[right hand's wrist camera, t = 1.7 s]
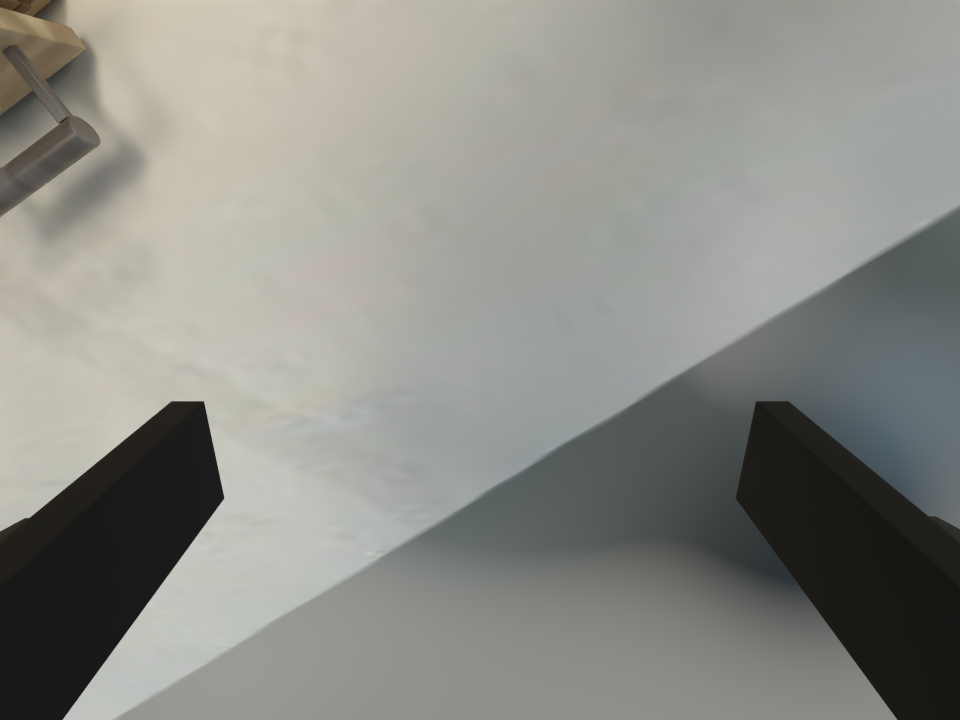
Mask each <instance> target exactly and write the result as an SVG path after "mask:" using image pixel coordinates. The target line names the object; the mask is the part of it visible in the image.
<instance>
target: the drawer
mask: <svg viewBox="0 0 960 720" xmlns="http://www.w3.org/2000/svg"><path fill="white" fill-rule="evenodd" d="M31 8H32V6H31V5H30V3H29V2H28V1H27V0H0V116H1V115H2V114H3V113H4V112H6V111H7V110H8V109H10V108H11V107H12V106H13V105H15V104H16V103H17V102H19V101H20V100H21V99H22V98H24V97H25V96H26V95H28V94H29V93H30V92H31V91H33V92H34V93H35V94H36V95H37V97H38V98H39V99H40V101H41V102H42V103H43V104H44V106H45V107H46V108H47V109H48V111H49V112H50V113H51V114H52V116H53V117H54V118H55V119H56V121H57V122H58V123H61V124H59V125H58V126H57V127H55V128H54V129H53V130H51V131H50V132H49V133H47V134H46V135H45V136H43V137H42V138H41V139H39V140H38V141H37V142H35V143H34V144H33V145H31V146H30V147H29V148H27V149H26V150H25V151H23V152H22V153H21V154H19V155H18V156H17V157H15V158H14V159H13V160H11V161H10V162H9V163H8V164H6V165H5V166H4V167H2V168H1V169H0V217H1V216H3V215H4V214H5V213H7V212H8V211H9V210H11V209H12V208H13V207H15V206H16V205H18V204H19V203H20V202H22V201H23V200H24V199H26V198H27V197H29V196H30V195H31V194H33V193H34V192H35V191H37V190H38V189H40V188H41V187H42V186H44V185H45V184H46V183H48V182H49V181H51V180H52V179H53V178H55V177H56V176H57V175H59V174H60V173H61V172H63V171H64V170H66V169H67V168H68V167H70V166H71V165H72V164H74V163H75V162H77V161H78V160H79V159H81V158H82V157H83V156H85V155H86V154H88V153H89V152H90V151H92V150H93V149H94V148H96V147H97V146H98V145H99V144H100V138H99V136H98V134H97V133H96V131H95V130H94V129H93V128H92V127H91V126H90V125H89V124H88V123H87V122H85V121H84V120H82V119H81V118H79V117H76V116H72V114H71V113H70V112H69V110H68V109H67V108H66V107H65V105H64V104H63V103H62V101H61V100H60V99H59V98H58V96H57V95H56V94H55V92H54V91H53V90H52V89H51V87H50V86H49V85H48V83H47V82H46V81H45V80H47V79H48V78H49V77H51V76H52V75H53V74H54V73H56V72H57V71H58V70H60V69H61V68H62V67H63V66H65V65H66V64H67V63H69V62H70V61H71V60H72V59H74V58H75V57H76V56H78V55H79V54H80V53H81V52H83V51H84V50H85V49H86V48H85V46H84V45H83V44H82V42H81V41H80V39H79V38H78V37H77V35H76V34H75V33H74V31H73V30H72V29H71V28H70V27H67V26H63V25H60V24H56V23H53V22H49V21H46V20H42V19H39V18H36V17H32V16H29V15H25V13H26V12H27V11H28V10H30V9H31Z"/></svg>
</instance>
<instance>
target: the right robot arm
mask: <svg viewBox="0 0 960 720" xmlns="http://www.w3.org/2000/svg"><path fill="white" fill-rule="evenodd" d="M223 499H224V495H223V490H222V485H221V480H220V476H219V471H218V466H217V461H216V457H215V452H214V447H213V442H212V438H211V433H210V428H209V423H208V419H207V414H206V409H205V404H204V401H172V402H170V403H169V404H168V405H167V406H165V407H164V408H163V409H162V410H161V411H159V412H158V413H157V414H156V415H155V416H153V417H152V418H151V419H150V420H148V421H147V422H146V423H145V424H144V425H142V426H141V427H140V428H139V429H137V430H136V431H135V432H134V433H133V434H131V435H130V436H129V437H128V438H127V439H125V440H124V441H123V442H122V443H120V444H119V445H118V446H117V447H116V448H114V449H113V450H112V451H111V452H109V453H108V454H107V455H106V456H105V457H103V458H102V459H101V460H100V461H99V462H97V463H96V464H95V465H94V466H92V467H91V468H90V469H89V470H88V471H86V472H85V473H84V474H83V475H81V476H80V477H79V478H78V479H77V480H75V481H74V482H73V483H72V484H71V485H69V486H68V487H67V488H66V489H64V490H63V491H62V492H61V493H60V494H58V495H57V496H56V497H55V498H53V499H52V500H51V501H50V502H49V503H47V504H46V505H45V506H44V507H43V508H41V509H40V510H39V511H38V512H36V513H35V514H34V515H33V516H32V517H30V518H25V519H23V520H21V521H19V522H17V523H15V524H13V525H12V526H10V527H8V528H6V529H4V530H2V531H0V720H63V718H64V717H65V716H66V714H67V713H68V712H69V710H70V709H71V707H72V706H73V705H74V703H75V702H76V701H77V699H78V698H79V696H80V695H81V694H82V692H83V691H84V690H85V688H86V687H87V686H88V684H89V683H90V681H91V680H92V679H93V677H94V676H95V675H96V673H97V672H98V670H99V669H100V668H101V666H102V665H103V664H104V662H105V661H106V659H107V658H108V657H109V655H110V654H111V653H112V651H113V650H114V649H115V647H116V646H117V644H118V643H119V642H120V640H121V639H122V638H123V636H124V635H125V633H126V632H127V631H128V629H129V628H130V627H131V625H132V624H133V623H134V621H135V620H136V618H137V617H138V616H139V614H140V613H141V612H142V610H143V609H144V607H145V606H146V605H147V603H148V602H149V601H150V599H151V598H152V597H153V595H154V594H155V592H156V591H157V590H158V588H159V587H160V586H161V584H162V583H163V581H164V580H165V579H166V577H167V576H168V575H169V573H170V572H171V571H172V569H173V568H174V566H175V565H176V564H177V562H178V561H179V560H180V558H181V557H182V555H183V554H184V553H185V551H186V550H187V549H188V547H189V546H190V545H191V543H192V542H193V540H194V539H195V538H196V536H197V535H198V534H199V532H200V531H201V529H202V528H203V527H204V525H205V524H206V523H207V521H208V520H209V519H210V517H211V516H212V514H213V513H214V512H215V510H216V509H217V508H218V506H219V505H220V503H221V502H222V501H223ZM736 499H737V501H738V502H739V503H740V505H741V506H742V507H743V509H744V510H745V512H746V513H747V514H748V516H749V517H750V519H751V520H752V521H753V523H754V524H755V525H756V527H757V528H758V529H759V531H760V532H761V533H762V535H763V536H764V538H765V539H766V540H767V542H768V543H769V544H770V546H771V547H772V549H773V550H774V551H775V553H776V554H777V555H778V557H779V558H780V560H781V561H782V562H783V564H784V565H785V566H786V568H787V569H788V571H789V572H790V573H791V575H792V576H793V577H794V579H795V580H796V581H797V583H798V584H799V586H800V587H801V588H802V590H803V591H804V592H805V594H806V595H807V597H808V598H809V599H810V601H811V602H812V603H813V605H814V606H815V607H816V609H817V610H818V611H819V613H820V614H821V616H822V617H823V618H824V620H825V621H826V623H827V624H828V625H829V627H830V628H831V629H832V631H833V632H834V633H835V635H836V636H837V638H838V639H839V640H840V642H841V643H842V644H843V646H844V647H845V648H846V650H847V651H848V653H849V654H850V655H851V657H852V658H853V659H854V661H855V662H856V663H857V665H858V666H859V668H860V669H861V670H862V672H863V673H864V674H865V676H866V677H867V679H868V680H869V681H870V683H871V684H872V686H873V687H874V688H875V690H876V691H877V692H878V694H879V695H880V696H881V698H882V699H883V701H884V702H885V703H886V705H887V706H888V707H889V709H890V710H891V711H892V713H893V714H894V715H895V717H896V718H897V720H960V529H958V528H956V527H954V526H953V525H951V524H949V523H947V522H945V521H943V520H941V519H939V518H938V517H936V516H927V515H926V514H925V513H924V512H922V511H921V510H920V509H919V508H917V507H916V506H915V505H914V504H913V503H911V502H910V501H909V500H908V499H906V498H905V497H904V496H903V495H902V494H900V493H899V492H898V491H897V490H896V489H894V488H893V487H892V486H891V485H889V484H888V483H887V482H886V481H885V480H883V479H882V478H881V477H880V476H878V475H877V474H876V473H875V472H874V471H872V470H871V469H870V468H869V467H868V466H866V465H865V464H864V463H863V462H861V461H860V460H859V459H858V458H857V457H855V456H854V455H853V454H852V453H850V452H849V451H848V450H847V449H846V448H844V447H843V446H842V445H841V444H840V443H838V442H837V441H836V440H835V439H833V438H832V437H831V436H830V435H829V434H827V433H826V432H825V431H824V430H823V429H821V428H820V427H819V426H818V425H816V424H815V423H814V422H813V421H812V420H810V419H809V418H808V417H807V416H805V415H804V414H803V413H802V412H801V411H799V410H798V409H797V408H796V407H795V406H793V405H792V404H791V403H790V402H788V401H757V402H756V404H755V409H754V414H753V419H752V424H751V429H750V433H749V438H748V443H747V447H746V452H745V457H744V461H743V466H742V471H741V476H740V480H739V485H738V490H737V495H736Z"/></svg>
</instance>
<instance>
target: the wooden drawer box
mask: <svg viewBox="0 0 960 720" xmlns="http://www.w3.org/2000/svg"><path fill="white" fill-rule="evenodd" d="M27 1H28V2H29V3H30V5H31V6H32V8H31V9H30V10H28V11H27V12H26V13H25V15H29V16H32V17H33V16H34V15H35V14H36V13H37V12H39V11H40V10H41V9H42V8H44V7H45V6H46V5H47V4H49V3H50V2H51V1H52V0H27Z"/></svg>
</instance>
